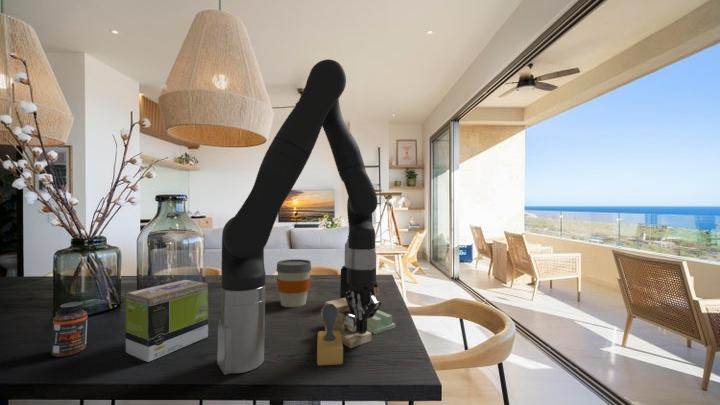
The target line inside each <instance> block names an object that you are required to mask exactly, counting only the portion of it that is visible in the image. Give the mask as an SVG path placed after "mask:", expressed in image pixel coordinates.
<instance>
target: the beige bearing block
mask: <svg viewBox="0 0 720 405" xmlns="http://www.w3.org/2000/svg"><path fill="white" fill-rule="evenodd" d="M327 304H333V305H334V306H335V307H336V309H337V317H336V320H335V322H334V325H333V328H332V331H340V332H341V338H342V345H344V346H346V347H348V348H350V349H352V348H356V347H357V346H358V347H359V346H361V345H364V344H367V343H369V342H371V341H372V340H373V336H372V334H373V333H372V332H370V331H368V330H367V331H366V333H364V334H359V333H353V332H351V331H349V330H347V329H345V315H344V314H342V313H341V312H347V313H349V314H352V313H351V312H350V309H349V306H348V304H347V301H346V298H341V299H340V298H337V299H333V300H332V299H331V300H329V301H328V300H327V301H325V306H326V305H327ZM352 305H353V304H352ZM352 315H354V314H352ZM354 316H355V315H354ZM324 331H327V328H326V324H325V323H324Z"/></svg>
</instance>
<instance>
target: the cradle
mask: <svg viewBox="0 0 720 405" xmlns="http://www.w3.org/2000/svg"><path fill="white" fill-rule="evenodd" d="M396 324H397V323H395V322H393V315H392V314H390V313H389V314H388V313H387V312H384V311H382V310H379V309H378V310H377V312H376V313H375V315H374V316H373V317H372V318H368V319H367V331H368V332H370V333H372V334H374V335H378V334H380V333H383V332H386V331H389V330H393V329H396V327H397V325H396Z"/></svg>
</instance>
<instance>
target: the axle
mask: <svg viewBox="0 0 720 405" xmlns="http://www.w3.org/2000/svg"><path fill="white" fill-rule="evenodd" d="M324 307H325V305H323V306H322V307H321V310H320V314H321V317H322V318H323V309H324ZM341 313H342V314H344V315H345V329H347V330H349V331H351V332H353V333H357V331H356V318H355V316H354V315H352V314H349V313H347V312H341Z"/></svg>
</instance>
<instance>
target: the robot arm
mask: <svg viewBox="0 0 720 405" xmlns="http://www.w3.org/2000/svg"><path fill="white" fill-rule="evenodd" d="M343 67H344V66H342V65H341V63H339V62H338V61H336V60H334V59H329V58H328V59H323V60H320V61H318V62H317V63H315V64H314V65H313V67H312V68H311V69H310V71H309V73H308V77H307V78H306V82H305V86H304V89H303V90H302V93H301V96H300V97H299V99H298V101H297V103H296V104H295V106H294V107H293V108H292V110H291V112H290V114H288V116H287V118H286V119H285V120H284V122H283V123H282V125H281V126H280V128H279V130H278V131H277V133H276V134H275V136H274V138H273V139H272V141H271V142H270V144H269V147H268V149H267V151H266V152H265V154H264V157H263V159H262V161H261V164H260V166H259V169H258V172H257V175H256V177H255V180H254V181H255V182H254V183H253V186H252V188H251V190H250V192H249V194H248V195H247V198H246V199H245V201H244V202H243V204H242V205H241V207H240V208H239V209H238V211H237V212H236V214H235V216H233V217H231V218H230V219H229V220H228V221H227V222H226V223H225V225H224V227H223V229H222V231H221V232H222V234H221V269H220V270H221V274H220V275H221V293H220V294H221V297H220V300H221V301H220V302H221V303H220V319H219V320H218V322H217V356H216V357H217V359H216V361H217V362H216V363H217V365H218V367H219V369H220V370H221V372H222V374H223V375H225V376H226V375H230V374H242V373H247V372H251V371H253V370H256V368H258V367H260V366H262V364H263V363H264V361H265V333H266V332H265V330H266V329H265V328H266V327H265V325H266V324H265V321H266V320H265V318H266V316H265V315H266V313H265V312H266V269H265V257H264V256H265V252H264V251H265V250H264V249H265V247H266V245H267V243H268V241H269V238H270V237H271V234H272V230H273V228H274V225H275V222H276V220H277V218H278V215H279V213H280V211H281V209H282V206H283V204H284V202H285V201H286V199H287V197H288V196H289V194H290V192H291V191H292V190H293V188H294V186H295V184H296V182H297V181H298V179H299V178H300V176H301V174H302V172H303V170H305V167H306V164H307V163H308V160H309V158H310V157H311V155H312V152H313V149H314V148H315V145H316V143H317V141H318V139H319V136H320V133H321V129H323V132H324V133H325V136H326V139H327V142H328V145H329V147H330V149H331V152H332V154H331V155H332V157H333V159H334V164H335V166H336V169H337V172H338V176H339V177H340V180H341V181H342V182H343V184H344V186H345V190H346V193H347V195H348V196H347V197H348V198H347V203H346V204H347V206H346V209H347V210H346V211H347V221H348V235H349V236H348V235H347V239H348V256H347V283H348V284H349V285H350V290H349V291H348V292H345V293H344V296H345V298H346V301H347V304H348V306H349V309H350V312H351V313H352V314H354V315H355V318H356V331H357V333H359V334H364V333H366V331H368V330H367V319H368V318H372V317H373V316H374V315H375V313H376V312H377V310H379V308H380V307H381V306H382V302H381V301H380V300H377V299H375V297H374V295H375V296H376V291H375V292H374V289H373V287H374V285H375V284H376V282H377V252H376V230H375V227H374V226H373V214H374V212H375V210H377V207H378V202H379V201H378V196H377V193H376V189H375V188H374V185H373V183H372V181H371V179H370V177H369V174H368V173H367V170H366V167H365V163H364V160H363V157H362V153H361V150H360V148H359V145H358V142H357V140H356V139H355V137H354V136H353V134H352V132H351V131H350V130H349V128H348V127H347V125H346V124H347V123H346V122H345V120H344V116H343V115H342V111H341V106H340V97H342V95H343V92H344V91H345V88H346V84H347V76H346V72H345V70H344V68H343ZM348 237H349V238H348ZM352 304H353V305H352Z"/></svg>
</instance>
